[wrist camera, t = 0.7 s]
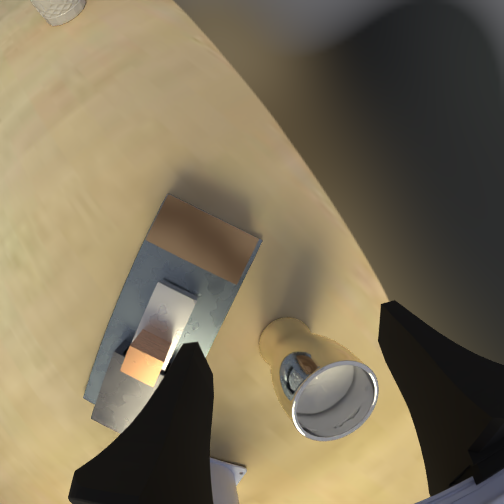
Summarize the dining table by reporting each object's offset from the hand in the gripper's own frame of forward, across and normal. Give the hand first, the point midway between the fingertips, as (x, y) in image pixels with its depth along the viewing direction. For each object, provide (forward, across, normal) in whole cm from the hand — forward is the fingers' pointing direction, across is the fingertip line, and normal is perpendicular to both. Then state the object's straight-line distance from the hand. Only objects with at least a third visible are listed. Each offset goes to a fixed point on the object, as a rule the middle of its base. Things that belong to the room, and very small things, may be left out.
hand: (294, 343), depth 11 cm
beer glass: (+16, 0, +16) cm, 23 cm away
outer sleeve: (+16, +13, +11) cm, 23 cm away
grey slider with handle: (+13, +14, +12) cm, 23 cm away
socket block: (+21, +7, +4) cm, 22 cm away
